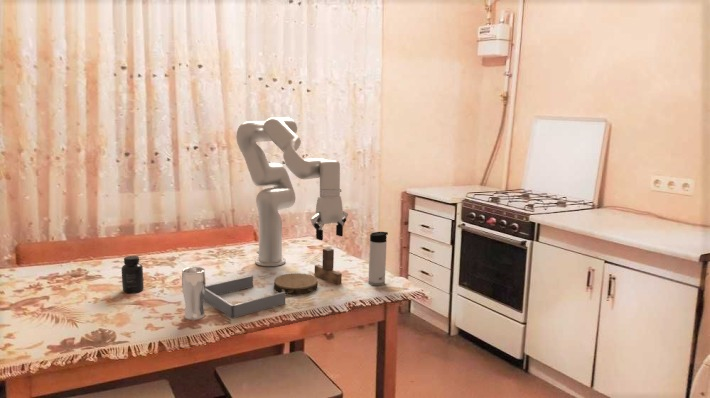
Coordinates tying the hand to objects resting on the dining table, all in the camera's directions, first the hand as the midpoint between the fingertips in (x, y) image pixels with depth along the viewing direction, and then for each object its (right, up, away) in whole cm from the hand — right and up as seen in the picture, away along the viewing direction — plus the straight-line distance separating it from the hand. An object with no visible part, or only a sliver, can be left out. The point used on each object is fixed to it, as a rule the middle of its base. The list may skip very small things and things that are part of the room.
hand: (329, 237), depth 195 cm
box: (-28, -20, -21) cm, 40 cm away
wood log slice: (-12, -18, -6) cm, 23 cm away
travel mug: (+18, -18, 0) cm, 25 cm away
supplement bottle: (-68, -18, -14) cm, 72 cm away
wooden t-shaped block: (-1, -16, +3) cm, 17 cm away
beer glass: (-40, -22, -34) cm, 58 cm away
